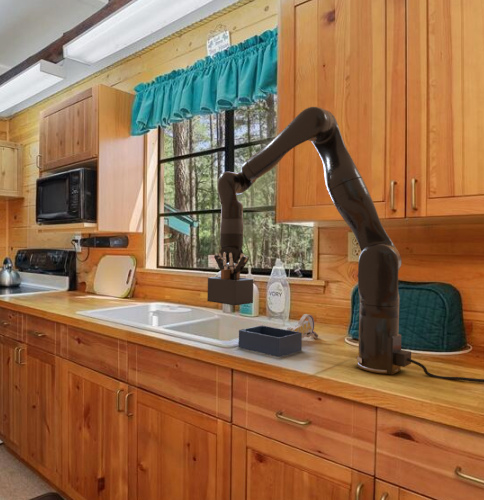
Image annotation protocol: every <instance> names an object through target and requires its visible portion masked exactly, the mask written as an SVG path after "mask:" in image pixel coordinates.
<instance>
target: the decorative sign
mask: <svg viewBox="0 0 484 500" xmlns="http://www.w3.org/2000/svg"><path fill="white" fill-rule="evenodd" d="M286 330H290V331H295V332H301V333H302V339H304V338H310V337H312V338H313V339H315V340H316V339H318V338H319V334H318V333H317V332H316V331H314V330H315V319H314V317H313V315H311V314H307V313H305V314H302V316H301V317H300V319H299V320H298V324H297V325H295V326H293V327H290V326H289V327H287V329H286Z"/></svg>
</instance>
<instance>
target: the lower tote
mask: <svg viewBox="0 0 484 500" xmlns="http://www.w3.org/2000/svg"><path fill="white" fill-rule="evenodd" d="M302 341H303V340H302V333H301V332H295V331H290V330H287V329H283V328H278V327H274V326H268V325H263V324H262V325H261V324H260V325H256V326H251V327H247V328H242V329H239V330H238V348H240V349H243V350H247V351H251V352H256V353H260V354H264V355H269V356H272V357H278V358H281V357H284V356H289V355H291V354H294V353H299V352H301V351H302V347H303V346H302V345H303V344H302V343H303V342H302Z"/></svg>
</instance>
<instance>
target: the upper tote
mask: <svg viewBox="0 0 484 500" xmlns="http://www.w3.org/2000/svg"><path fill="white" fill-rule="evenodd" d="M230 274H231V269H225V270H220V276H211V277H207V297H206V298H207V299H206V300H207V302H210V303H215V304H224V305H229V306H241V305H249V304H253V303H254V278H247V277H241V272H238V273H237V280H230Z"/></svg>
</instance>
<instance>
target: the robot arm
mask: <svg viewBox="0 0 484 500" xmlns="http://www.w3.org/2000/svg"><path fill="white" fill-rule="evenodd" d="M307 141H309V142H311V143H312V144H313V146H314V148H315V150H316V152H317V153H318V155H319V157H320V159H321V161H322V165H323V175H324V183H325V186H326V190H327V192H328V195H329V197H330V199H331V201H332V203H333V205H334V207H335V208H336V210H337V212H338V213H339V215H340V216H341V219H343V221H344V222H345V223H346V225H347V226H348V227H349V228H350V230H351V232H352V234H353V235H354V237H355V240H356V241H357V244H358V246H359V249H360V253H359V257H358V262H357V263H358V264H357V290H358V295H359V313H358V314H359V319H358V355H356V361H357V367H358V368H359V369H361V370H362V371H365V372H370V373H374V374H383V375H385V374H386V375H390V376H393V375H394V374H397V373H399V372H401V369H402V367H403V368H405V367H408V366H409V365H411V364H415V365H417V366H419V367H420V368H421V369H422V370H423V372H424V374H425V375H427V376H428V377H431V378H436V379H443V380H450V381H466V382H474V383H484V378H473V377H464V376H442V375H436V374H433V373H431V372H429V371H428V369H427V367H426V366H425V365H424V364H422V363H421V362H419V361H417V360H414V359H412V351H409V350H404V349H402V334H400V333H399V330H400V329H399V328H400V327H399V326H400V294H399V293H400V292H399V271H400V269H401V266H402V261H403V260H402V256H401V253H400V252H399V250H398V248H397V247H396V245H395V243H394V242H393V241H392V239H391V237H390V236H389V235H388V233H387V231H386V229H385V228H384V226H383V224H382V222H381V219H380V217H379V214H378V211H377V207H376V206H375V203H374V200H373V198H372V196H371V194H370V191H369V189H368V186H367V184H366V183H365V180H364V179H363V176H362V175H361V173H360V171H359V168H358V167H357V165H356V163H355V161H354V160H353V157H352V155H351V154H350V152H349V150H348V148H347V146H346V144H345V141H344V138H343V135H342V132H341V130H340V126H339V124H338V121H337V119H336V117H335V115H334V113H332V112H331V111H329V110H327V109H325V108H322V107H318V106H310V107H307V108H304V109H303V110H302V111H301V112H300V113H299V114H297V115H296V116H295V117H294V118H293V119H292V120H291V121H290V122H289V123H288V125H286V126H285V128H283V130H281V131H280V132H279V133H278V134H277V135H276V136H274V138H273V139H272V140H270V142H268V143H267V144H266V145H264V146H263V147H262V148H261V149H260V150H258V151H257V152H255V153H254V154H252V155H251V156H250V157H249V158H247V159H246V160H244V161H243V163H242V164H241V170H240V171H238V172H233V171H224V172H222V173H221V174H220V176H219V177H218V180H217V185H216V186H217V194H218V197H219V202H220V205H221V209H220V210H221V211H220V212H221V214H220V217H221V218H220V225H219V226H220V227H219V246H220V250H219V253H218V254H215V255H214V256H213V257H214V260H215V262H216V264H217V267H218V268H219V270H220V271H221V270H225V269H231V274H230V280H237V273H238V272H240V273H241V272H243V270H244V269H245V267H246V265H247V263H248V261H249V260H250V257H249V256H248V255H246V254H244V251H243V246H244V223H243V221H244V220H243V218H244V217H243V216H244V205H243V203H242V202H241V201H240V200H238V196H237V195H241V194H244V193H245V192H246V191H248V190H249V188H251V187H252V185H253V184H254V183H255V182H256V181H257V180H258V179H260V178H261V177H263V176H264V175H265V174H267V173H268V172H270V171H271V170H272V169H274V168H275V167H276V166H277V165H278V164H279V163H280V162H281V160H282V159H283V158H284V157H285V156H286V155H287V154H288V153H289V152H290V151H291V150H292V149H294V148H295V147H297V146H300V145H301V144H303V143H305V142H307Z"/></svg>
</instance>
